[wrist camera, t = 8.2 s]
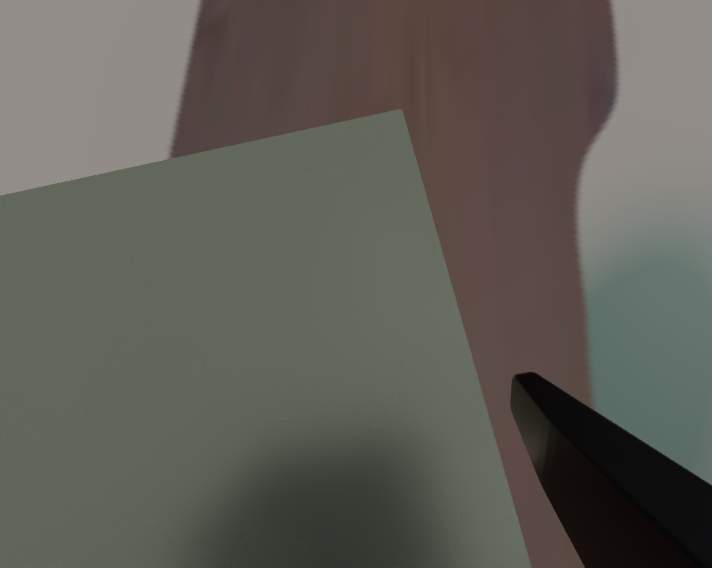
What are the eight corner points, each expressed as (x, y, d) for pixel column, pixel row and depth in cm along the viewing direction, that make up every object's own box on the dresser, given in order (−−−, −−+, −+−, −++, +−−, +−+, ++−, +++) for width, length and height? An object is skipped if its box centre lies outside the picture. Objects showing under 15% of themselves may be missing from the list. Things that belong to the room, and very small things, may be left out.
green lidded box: (417, 441, 16) (537, 590, 4) (269, 474, 16) (-25, 722, 4) (382, 296, 17) (401, 108, 6) (246, 327, 17) (-23, 200, 6)
